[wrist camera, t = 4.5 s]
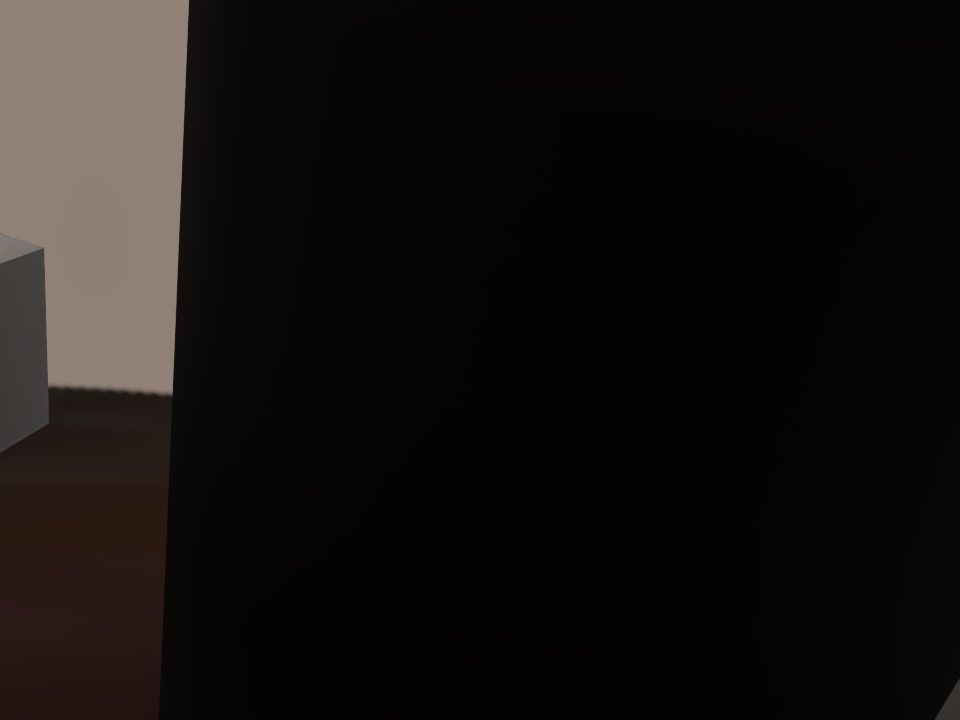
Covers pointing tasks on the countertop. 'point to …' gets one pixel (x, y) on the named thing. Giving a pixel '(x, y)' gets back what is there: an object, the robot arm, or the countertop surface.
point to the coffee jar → (566, 361)
